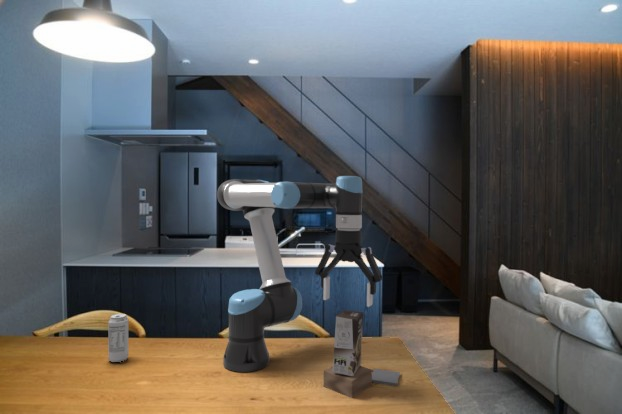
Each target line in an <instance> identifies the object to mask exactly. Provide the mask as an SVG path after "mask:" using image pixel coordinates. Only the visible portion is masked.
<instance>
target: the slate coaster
mask: <svg viewBox="0 0 622 414" xmlns="http://www.w3.org/2000/svg"><path fill="white" fill-rule="evenodd" d="M400 374H401V373H400V371H395V370H394V371H393V370H386V369H379V368H378V369H377V368H374V369H372V383H374V384H381V385H387V386H392V387H393V386H394V387H397V386H398V384H399V381H400V380H399V379H400V376H401V375H400Z"/></svg>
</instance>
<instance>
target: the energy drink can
mask: <svg viewBox="0 0 622 414" xmlns="http://www.w3.org/2000/svg"><path fill="white" fill-rule="evenodd" d="M107 322H108V327H107V328H108V331H107V332H108V338H107V339H108V340H107V343H108V360H109V361H111V362H120V363H122V362H121V361H123V362H125V361H127V359H128V358H129V318H128V317H127V314H125V313H115V314H112V315H110V318H109V320H108V321H107ZM124 360H125V361H124ZM111 362H110V363H111Z"/></svg>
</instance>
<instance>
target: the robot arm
mask: <svg viewBox="0 0 622 414" xmlns="http://www.w3.org/2000/svg"><path fill="white" fill-rule="evenodd" d="M335 181H336V182H335V183H320V182H319V183H317V182H298V181H297V182H296V181H295V182H294V181H286V180H285V181H278V182H269V181H267V180H262V179H238V178H233V179H228V180H225V181H224V182H222V183H221V184H220V185H219V186H218V189H217V192H216V198H217V201H218V203H219V204H220V206H221V207H223V208H224V209H226V210H230V211H236V212H237V211H238V212H239V211H241V212H243V216H244V219H246V221H248V222H249V225H250V230H251V234H252V240H253V245H254V249H255V254H256V258H257V263H258V269H259V272H260V277H261V281H262V284H261V286H260V287H259V289H257V288H251V289H244V290H239V291H237V292H235V293H233V294H232V295H231V297H229V299H228V300H229V301H228V308H227V311H228V341H227V344H226V348H225V352H224V354H223V356H222V357H223V359H222V361H223V362H222V363H223V364H222V365H223V367H224V368H225V369H226V370H228V371H231V372H236V373H248V372H255V371H258V370H263V369H264V368H266V367H267V366H268V365H269V364H270V353H269V351H268V346H267V343H266V341H265V328H268V327H273V326H278V325H281V324H288V323H289V322H292V321H295V320H296V319H297V318H298V317H299V316H300V313H301V312H302V309H303V297H302V295H301V292H300V291H299V290H298V288H297V287H294V286H293V285H292V280H289V278H287V277H286V272H285V269H284V268H285V267H284V265H283V260H282V255H281V251H280V247H279V242H278V238H277V234H276V233H277V232H276V228H275V226H274V221H273V220H274V219H273V214H275V208H278V209H286V210H287V209H288V210H290V209H335V227H336V230H335V245H333V244H331V243H329V244H326V245H325V247H324V248H325V249H324V253H323V255H322V257H321V259H320V261H319V264H318V265H317V267H316V270H315V271H314V274H315V275H318V276H320V287H321V288H322V289H323V290H322V291H323V292H322V294H323V299H322V300H323V301H328V300H329V299H330V298H331V297H330V295H331V294H330V293H331V291H330V289H331V283H330V282H331V276H329V274H330V273H331V272H332V271H333V270H334V268H335V267H336V266H337V265H338V264H339V262H341V261H342V262H348V263H354V264H356V265H357V266H358V268H359V269H360V270H361V272H362V273H363V274H364V275H363V276H365V277H366V278H367V280H368V281H369V282H367V283H366V285H367V286H366V307H367V308H369V307H371V306H372V305H373V301H374V298H373V297H374V295H375V294H376V292H377V283H379V282H381V281H383V279H384V278H383V275H382V273H381V270H380V269H379V266H378V263H377V261H376V259H375V257H374V255H373V254H374V253H373V248H372V247H371V246H368V247H363V246H362V235H363V233H362V230H361V229H362V228H363V226H362V225H363V216H362V215H363V212H362V211H363V210H362V208H363V193H364V190H363V180H362V177H360V176H356V175H340V176H337V177H336V180H335ZM333 252H335V253H336V255H335V256H334V257H333V259H332V260H331V262H329V264H328V265H327V263H328V261H329V259H330V257H331V255H332V253H333ZM362 254H363V255H364V256H365V258H366V261H367V263H368V265H369V267H370V268H369V267H368V265H367V264H366V263H365V261H364V259H363V257H362ZM326 265H327V266H326ZM370 269H371V270H370Z"/></svg>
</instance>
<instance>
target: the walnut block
mask: <svg viewBox="0 0 622 414" xmlns="http://www.w3.org/2000/svg"><path fill="white" fill-rule="evenodd" d="M372 373H373V369H372V368H371V369H370V368H368V367H365V366H362V365H360V367H359V368H358V370H357V371H356V373H355V374H354V376H348V375H344V374H339V373H334V372H333V365H332V366H331V367H329V368H326V369H325V370H323V388H325V389H328V390H331V391H333V392H335V393H338V394H341V395H343V396H346V397H348V398H351V399H353V398H355V397H356V396H357V395H359V394H361V393H362V392H363V391H365V390H367V389H368V388H370V387H371V386H372Z"/></svg>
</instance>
